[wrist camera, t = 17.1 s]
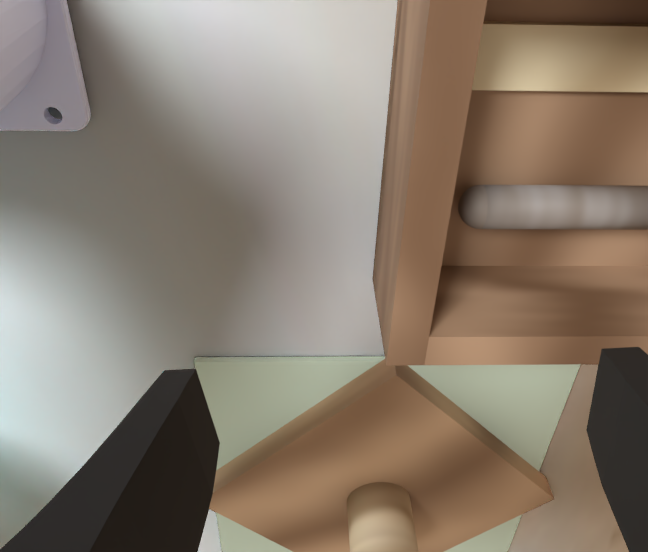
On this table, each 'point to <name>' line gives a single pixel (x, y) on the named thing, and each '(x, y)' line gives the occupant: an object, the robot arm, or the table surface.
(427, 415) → the lid
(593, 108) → the toolbox
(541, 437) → the mat
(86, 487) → the robot arm
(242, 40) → the table surface
